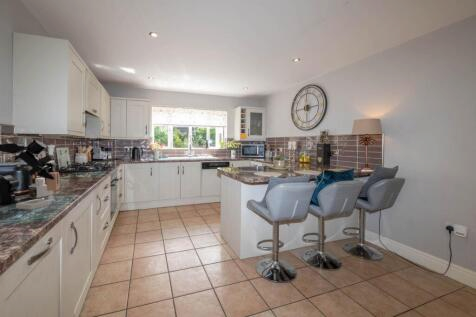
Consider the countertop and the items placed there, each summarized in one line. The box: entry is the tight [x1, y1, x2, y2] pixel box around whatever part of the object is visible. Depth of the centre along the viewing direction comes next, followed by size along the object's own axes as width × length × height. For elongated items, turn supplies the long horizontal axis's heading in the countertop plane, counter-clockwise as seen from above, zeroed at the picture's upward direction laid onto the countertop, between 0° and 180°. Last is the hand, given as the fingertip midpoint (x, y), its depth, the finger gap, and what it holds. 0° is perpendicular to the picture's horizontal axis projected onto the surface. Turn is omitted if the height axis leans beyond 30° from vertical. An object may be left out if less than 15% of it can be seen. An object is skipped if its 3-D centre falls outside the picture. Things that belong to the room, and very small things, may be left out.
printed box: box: [28, 177, 50, 199], centre depth 143 cm, size 7×7×12 cm
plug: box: [45, 171, 61, 192], centre depth 132 cm, size 5×4×10 cm
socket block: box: [15, 198, 52, 211], centre depth 122 cm, size 10×10×2 cm
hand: (55, 178), depth 133 cm, fingers closed on plug, 4 cm apart
